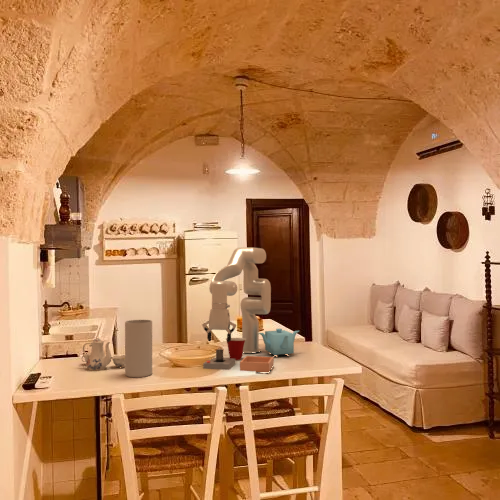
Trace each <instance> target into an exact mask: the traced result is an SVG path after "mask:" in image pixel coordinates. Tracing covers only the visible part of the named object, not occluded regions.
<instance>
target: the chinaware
mask: <svg viewBox="0 0 500 500" xmlns="http://www.w3.org/2000/svg"><path fill="white" fill-rule="evenodd" d="M104 343H105V341H104V340H102V339H101V338H100V337H99V336H96V337H95V338H94V339H93V341H90V342H85V344H84V345H83V346H82V352H83V355H82V357H81V362H83V363H85V366H86V367H87V368H88V370H89V371H98V372H99V371H104V370H106V369H107V366H108V365H109V364H110V363H111V362H112V361H113V362H112V363H113V364H114V365H115V366H116V368H118V369H121V368H120V367H122V368H125V354H122V355H113V357H112V354H111V351H110V346H109V345H110V344H111V342H109V341H108V342H106V344H105V351H104ZM86 345H89V347H90V348H91V352H89V353H86V351H85V346H86ZM83 358H84V360H85V361H84V360H83Z"/></svg>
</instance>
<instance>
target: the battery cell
mask: <svg viewBox="0 0 500 500" xmlns="http://www.w3.org/2000/svg"><path fill="white" fill-rule="evenodd" d="M215 358H216V362H223V358H224V349H223V348H218V349H215Z"/></svg>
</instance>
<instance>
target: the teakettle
mask: <svg viewBox="0 0 500 500" xmlns="http://www.w3.org/2000/svg"><path fill="white" fill-rule="evenodd" d="M299 332H300V330H295V331H293V332H290V331H288V330H285V329H283V328H276V329H275V330H266V331H264V332H259V335H261V337H262V339H263V344H264V351H266V352H268V353H269V352H270V353H271V354H273V355H278V356H279V355H284V354H289V355H291V354H294V353H295V347H294V346H295V344H294V343H295V339H296V335H297V334H298V333H299ZM273 355H272V356H273Z"/></svg>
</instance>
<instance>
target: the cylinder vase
mask: <svg viewBox="0 0 500 500" xmlns="http://www.w3.org/2000/svg"><path fill="white" fill-rule="evenodd" d="M124 355H125V365H124V374H125V377H128V378H144V377H149V376H151V375H152V374H153V320H151V319H133V320H132V319H131V320H126V321H124Z"/></svg>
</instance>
